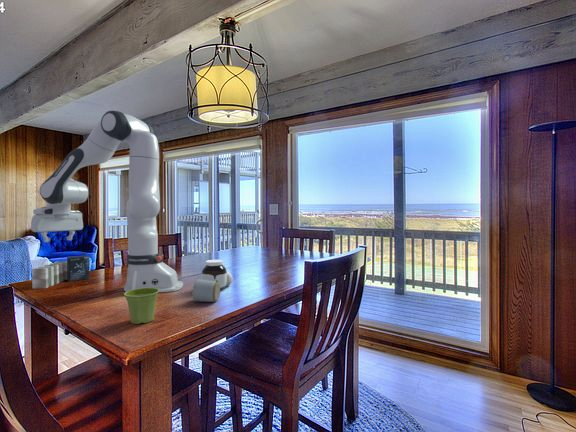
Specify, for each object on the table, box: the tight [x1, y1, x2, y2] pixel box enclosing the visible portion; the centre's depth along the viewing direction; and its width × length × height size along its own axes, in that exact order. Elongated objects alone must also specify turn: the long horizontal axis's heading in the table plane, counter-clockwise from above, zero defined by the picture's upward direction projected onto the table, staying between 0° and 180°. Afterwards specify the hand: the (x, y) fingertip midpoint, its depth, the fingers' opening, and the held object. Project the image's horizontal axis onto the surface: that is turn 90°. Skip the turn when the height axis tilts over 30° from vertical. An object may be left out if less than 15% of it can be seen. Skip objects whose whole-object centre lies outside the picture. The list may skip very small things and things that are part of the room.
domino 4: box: [48, 262, 65, 283], centre depth 139 cm, size 5×2×8 cm, turn 98°
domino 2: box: [37, 265, 55, 287], centre depth 131 cm, size 5×2×8 cm, turn 98°
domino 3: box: [43, 264, 60, 285], centre depth 135 cm, size 5×2×8 cm, turn 98°
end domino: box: [54, 261, 68, 281], centre depth 143 cm, size 5×2×8 cm, turn 98°
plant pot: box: [123, 288, 160, 325], centre depth 92 cm, size 9×9×9 cm
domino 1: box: [31, 267, 49, 290], centre depth 128 cm, size 5×2×8 cm, turn 98°
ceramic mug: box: [192, 278, 221, 303], centre depth 113 cm, size 11×8×8 cm
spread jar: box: [200, 259, 234, 292], centre depth 130 cm, size 12×11×12 cm
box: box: [66, 254, 91, 282], centre depth 143 cm, size 8×6×11 cm
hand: (58, 241), depth 141 cm, fingers open, 8 cm apart
